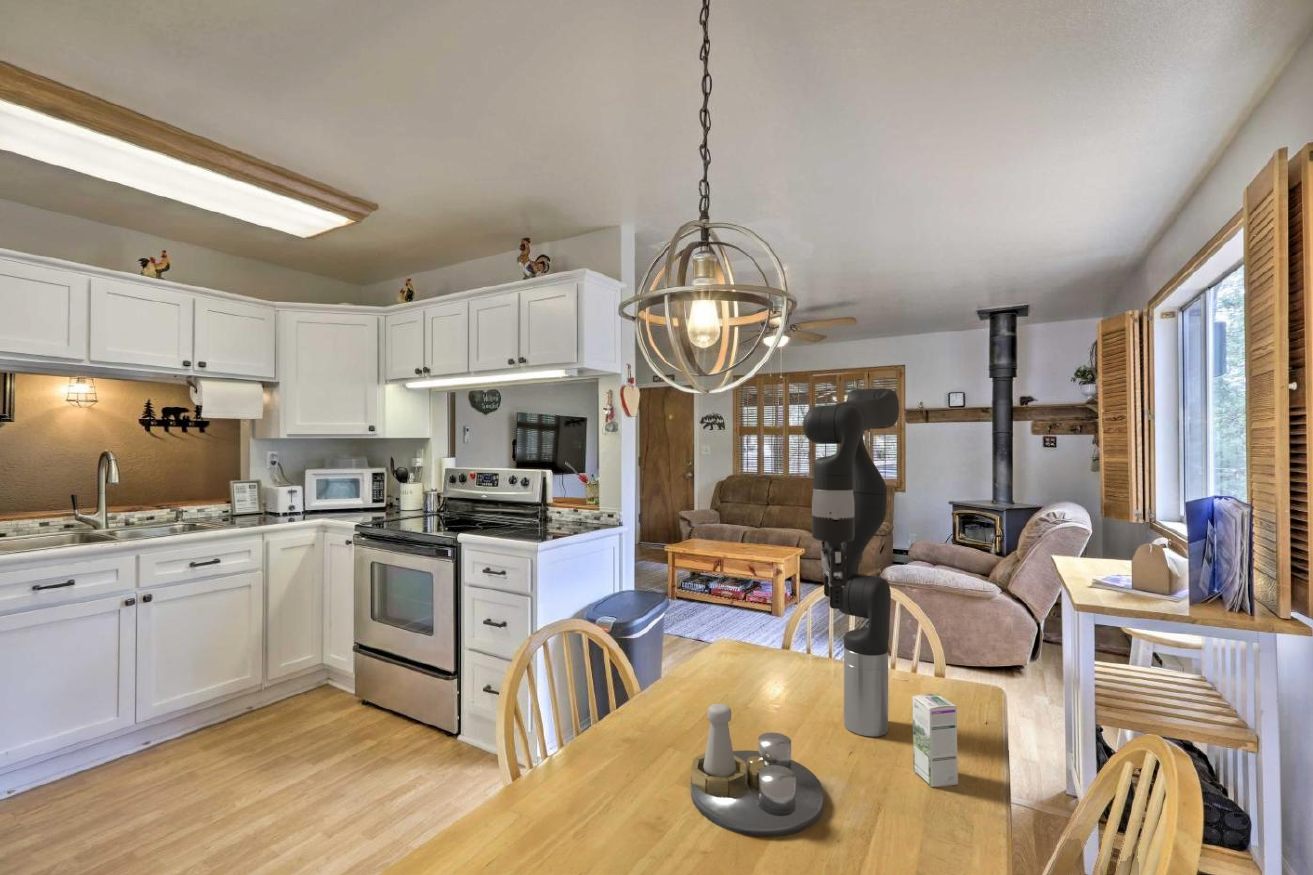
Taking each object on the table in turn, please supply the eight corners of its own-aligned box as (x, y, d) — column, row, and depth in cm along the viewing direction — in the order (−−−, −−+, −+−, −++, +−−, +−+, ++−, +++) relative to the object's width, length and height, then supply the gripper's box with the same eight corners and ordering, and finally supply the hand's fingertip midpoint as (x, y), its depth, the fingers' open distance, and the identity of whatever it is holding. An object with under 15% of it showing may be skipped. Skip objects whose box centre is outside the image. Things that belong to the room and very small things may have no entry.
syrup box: (959, 785, 110) (959, 705, 110) (929, 788, 109) (929, 707, 109) (939, 768, 115) (939, 692, 116) (911, 771, 115) (911, 694, 115)
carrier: (697, 756, 120) (697, 720, 120) (815, 766, 116) (816, 729, 116) (683, 828, 97) (683, 784, 97) (831, 844, 93) (831, 798, 94)
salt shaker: (732, 770, 111) (732, 699, 111) (738, 788, 105) (739, 713, 105) (701, 771, 110) (701, 700, 111) (705, 789, 105) (705, 714, 105)
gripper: (808, 509, 119) (808, 592, 118) (816, 517, 105) (816, 611, 104) (848, 510, 117) (848, 593, 117) (861, 518, 103) (861, 613, 103)
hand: (833, 602), depth 111 cm, fingers open, 8 cm apart
